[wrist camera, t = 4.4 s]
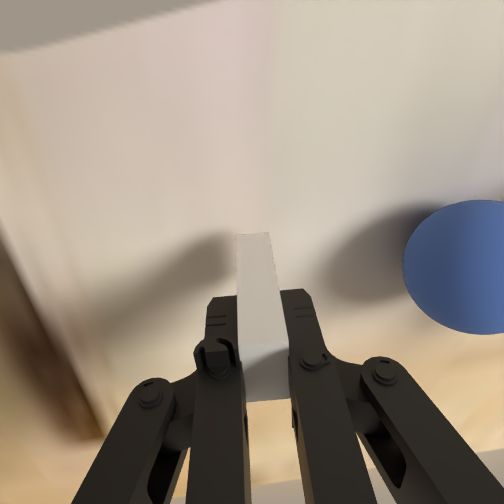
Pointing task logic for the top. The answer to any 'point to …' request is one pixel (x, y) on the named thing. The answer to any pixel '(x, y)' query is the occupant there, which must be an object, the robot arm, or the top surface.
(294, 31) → the top surface
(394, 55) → the top surface
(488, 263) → the ball
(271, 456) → the top surface
